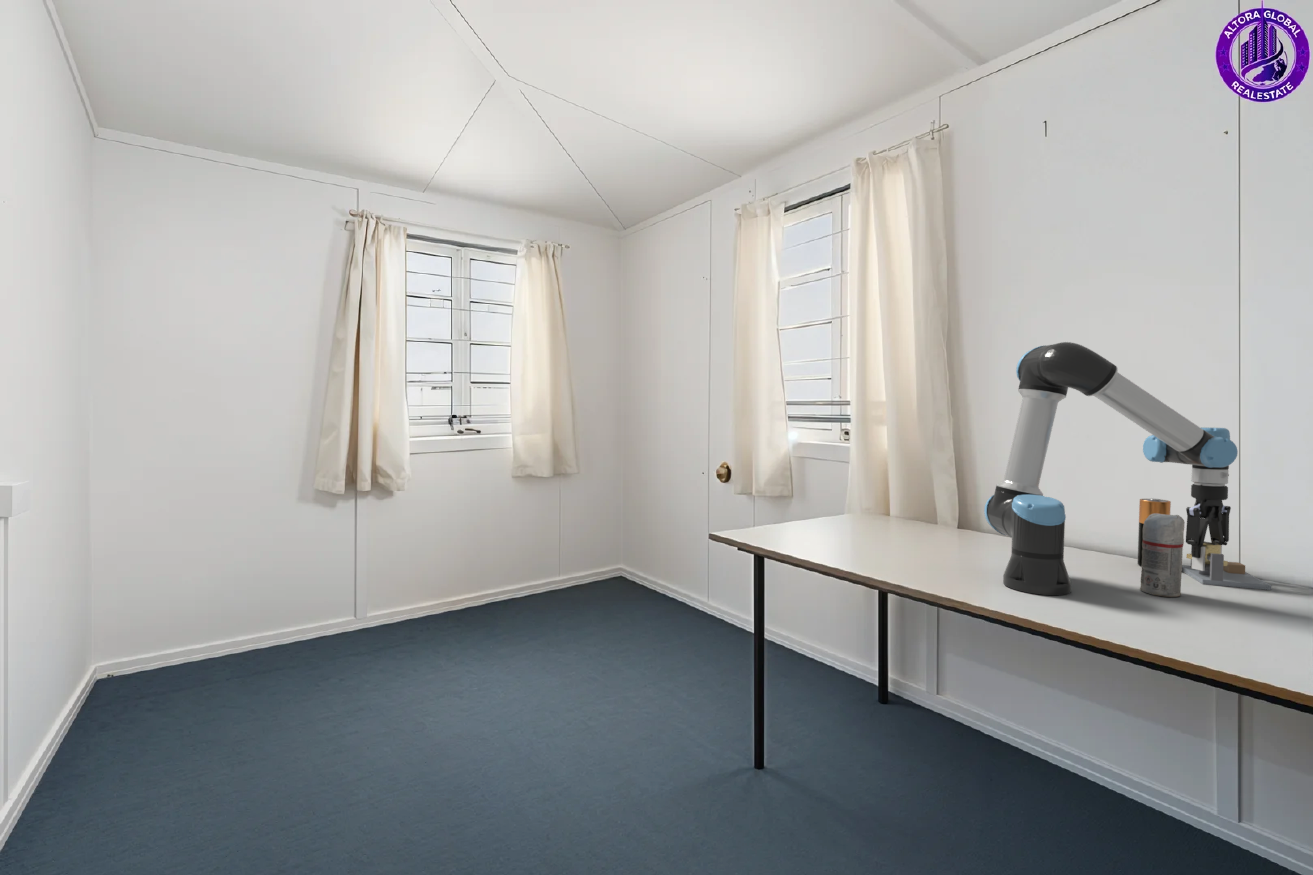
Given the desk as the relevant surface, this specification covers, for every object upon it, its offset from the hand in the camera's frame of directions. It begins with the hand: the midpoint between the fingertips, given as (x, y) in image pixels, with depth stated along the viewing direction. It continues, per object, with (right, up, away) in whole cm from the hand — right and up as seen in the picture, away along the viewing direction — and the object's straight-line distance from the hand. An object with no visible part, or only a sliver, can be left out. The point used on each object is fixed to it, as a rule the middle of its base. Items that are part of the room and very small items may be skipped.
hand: (1206, 568), depth 172 cm
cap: (0, +2, 0) cm, 2 cm away
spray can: (-23, -4, -13) cm, 27 cm away
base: (+4, -3, 0) cm, 5 cm away
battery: (-4, -2, +13) cm, 14 cm away
